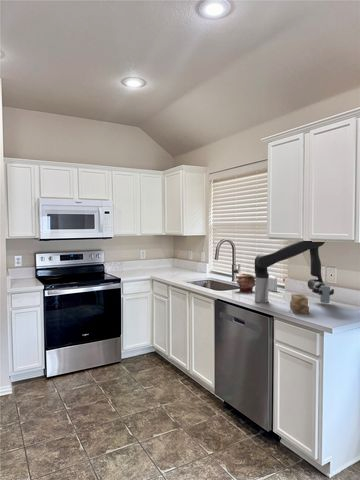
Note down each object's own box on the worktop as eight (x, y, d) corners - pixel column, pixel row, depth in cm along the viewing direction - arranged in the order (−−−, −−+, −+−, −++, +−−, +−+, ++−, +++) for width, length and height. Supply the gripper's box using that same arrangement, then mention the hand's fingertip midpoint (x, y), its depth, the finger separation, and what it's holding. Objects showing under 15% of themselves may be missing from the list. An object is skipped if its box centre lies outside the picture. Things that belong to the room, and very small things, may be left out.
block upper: (294, 306, 212) (294, 298, 212) (291, 301, 224) (291, 294, 224) (307, 306, 211) (308, 298, 211) (304, 302, 223) (304, 294, 222)
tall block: (321, 302, 214) (322, 286, 214) (320, 301, 219) (321, 285, 218) (329, 303, 213) (330, 287, 213) (327, 301, 218) (328, 285, 217)
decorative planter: (252, 289, 291) (253, 273, 291) (262, 291, 280) (262, 274, 280) (233, 291, 283) (233, 274, 282) (241, 293, 272) (242, 276, 271)
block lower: (293, 314, 212) (293, 306, 212) (290, 308, 226) (290, 301, 225) (308, 315, 210) (309, 306, 210) (304, 309, 224) (304, 301, 224)
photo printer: (265, 289, 291) (265, 275, 290) (268, 289, 293) (269, 274, 292) (274, 291, 282) (274, 276, 281) (277, 291, 284) (278, 276, 283)
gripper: (309, 282, 231) (314, 286, 214) (332, 283, 228) (338, 288, 211) (308, 293, 231) (313, 298, 214) (331, 294, 229) (338, 300, 212)
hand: (326, 293), depth 213 cm, fingers closed on tall block, 4 cm apart
